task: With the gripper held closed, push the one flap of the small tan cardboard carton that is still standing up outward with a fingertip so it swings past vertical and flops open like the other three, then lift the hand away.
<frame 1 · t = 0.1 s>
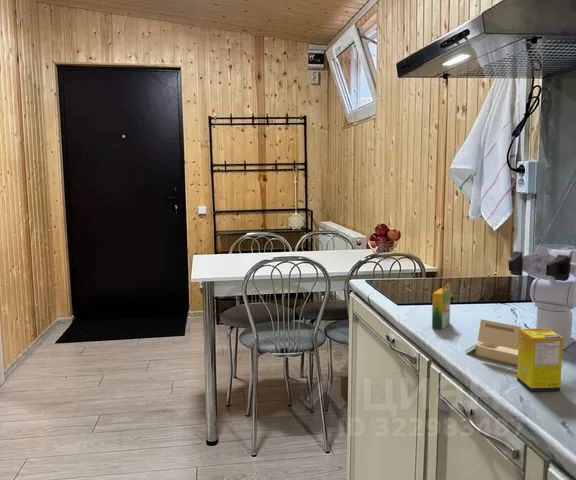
hand: (528, 267, 109), 22 cm above the worktop, tool horizontal, fingers open, 7 cm apart
crayon box: (440, 326, 141), on the worktop
carton: (507, 354, 118), on the worktop
supplement box: (537, 386, 101), on the worktop
flap: (498, 334, 113), point 6 cm above the worktop, hinge at 75.0°
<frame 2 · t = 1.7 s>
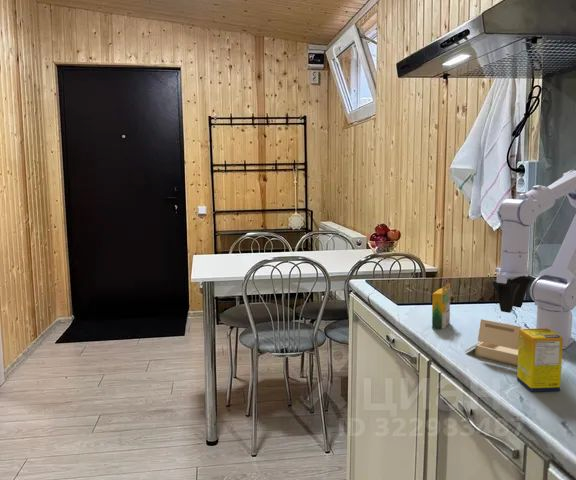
hand: (511, 309, 118), 10 cm above the worktop, tool pointing down, fingers open, 6 cm apart
nothing on the worktop moved.
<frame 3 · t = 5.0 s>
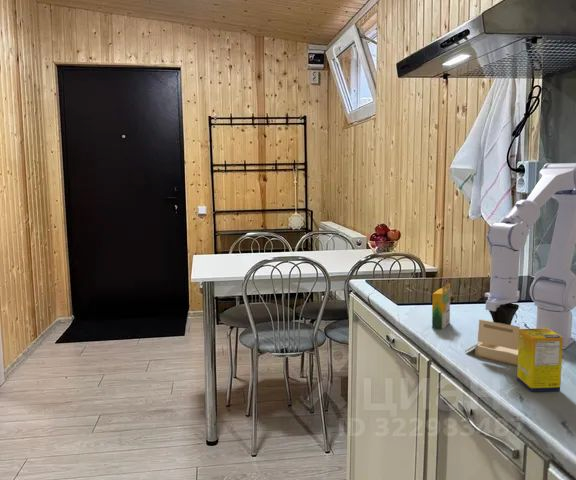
hand: (501, 335, 114), 5 cm above the worktop, tool pointing down, fingers closed
flap: (498, 334, 113), point 6 cm above the worktop, hinge at 84.5°, touching gripper
everything else where it was.
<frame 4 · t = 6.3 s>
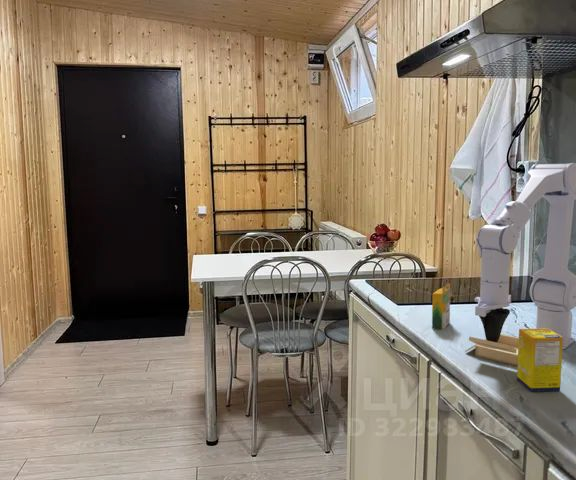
hand: (492, 341, 111), 5 cm above the worktop, tool pointing down, fingers closed
flap: (492, 344, 111), point 5 cm above the worktop, hinge at 154.2°, touching gripper
everything else where it was.
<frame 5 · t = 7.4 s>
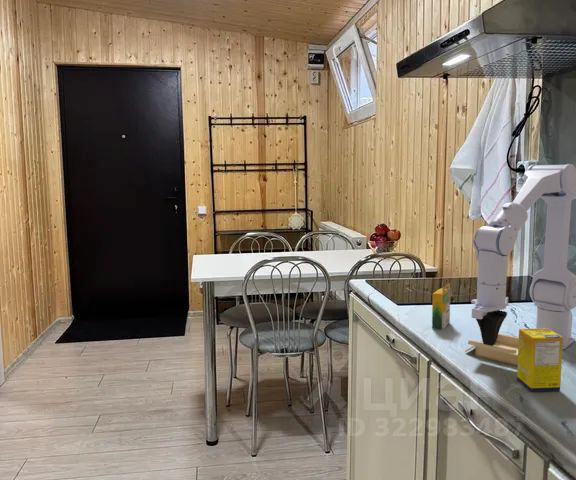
hand: (489, 344, 109), 5 cm above the worktop, tool pointing down, fingers closed
flap: (492, 347, 111), point 4 cm above the worktop, hinge at 163.3°, touching gripper
everything else where it was.
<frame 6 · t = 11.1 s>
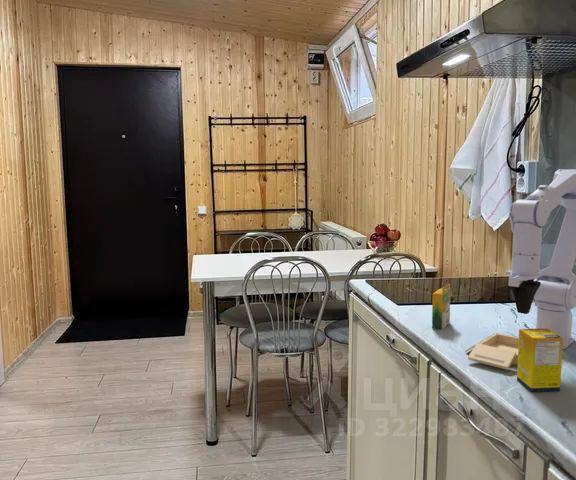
hand: (523, 312, 115), 10 cm above the worktop, tool pointing down, fingers closed
flap: (491, 355, 111), point 2 cm above the worktop, hinge at 203.8°
everything else where it was.
at the end: flap at +204° (first picture: +75°) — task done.
